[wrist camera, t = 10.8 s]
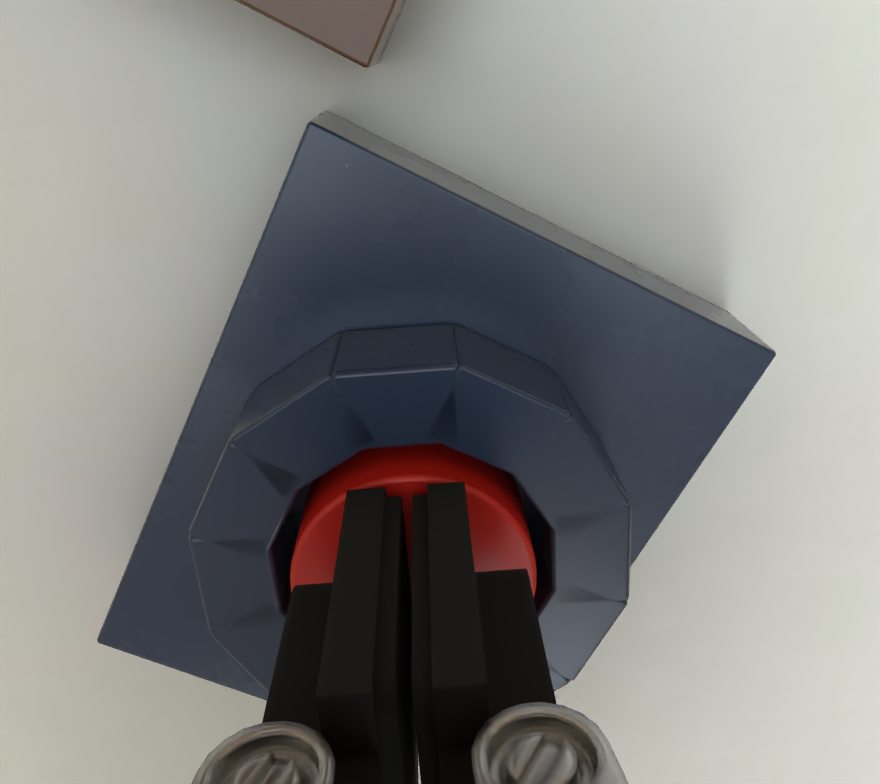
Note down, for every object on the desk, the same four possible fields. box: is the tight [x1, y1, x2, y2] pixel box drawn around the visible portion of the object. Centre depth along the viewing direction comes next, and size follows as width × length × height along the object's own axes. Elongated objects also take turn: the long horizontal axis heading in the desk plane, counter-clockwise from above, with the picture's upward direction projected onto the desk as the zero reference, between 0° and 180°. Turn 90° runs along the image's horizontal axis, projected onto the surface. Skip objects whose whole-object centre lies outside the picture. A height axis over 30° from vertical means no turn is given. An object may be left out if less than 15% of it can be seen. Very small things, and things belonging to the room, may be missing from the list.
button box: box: [97, 111, 776, 700], centre depth 14 cm, size 10×8×4 cm
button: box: [290, 444, 537, 598], centre depth 13 cm, size 4×4×2 cm
